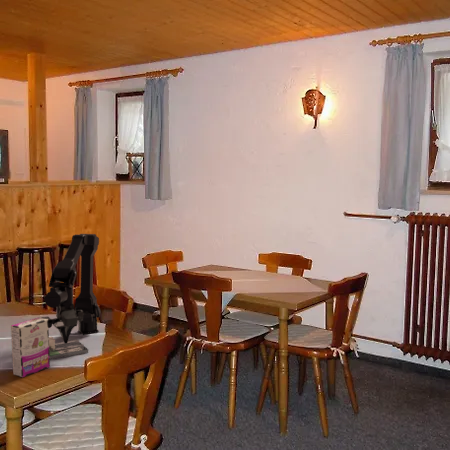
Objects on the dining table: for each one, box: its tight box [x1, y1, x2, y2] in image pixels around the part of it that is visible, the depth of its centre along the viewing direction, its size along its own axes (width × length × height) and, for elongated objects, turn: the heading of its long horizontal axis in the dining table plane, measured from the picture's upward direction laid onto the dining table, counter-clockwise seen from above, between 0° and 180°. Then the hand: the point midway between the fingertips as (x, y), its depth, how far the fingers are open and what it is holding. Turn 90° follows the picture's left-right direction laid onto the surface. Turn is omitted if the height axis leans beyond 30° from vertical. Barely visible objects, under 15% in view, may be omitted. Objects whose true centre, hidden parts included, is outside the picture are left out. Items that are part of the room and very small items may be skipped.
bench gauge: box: [49, 339, 89, 360], centre depth 194 cm, size 19×13×5 cm
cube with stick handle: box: [49, 336, 56, 351], centre depth 191 cm, size 4×8×4 cm, turn 33°
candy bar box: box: [10, 316, 51, 378], centre depth 175 cm, size 11×5×16 cm, turn 148°
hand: (65, 342), depth 196 cm, fingers closed
